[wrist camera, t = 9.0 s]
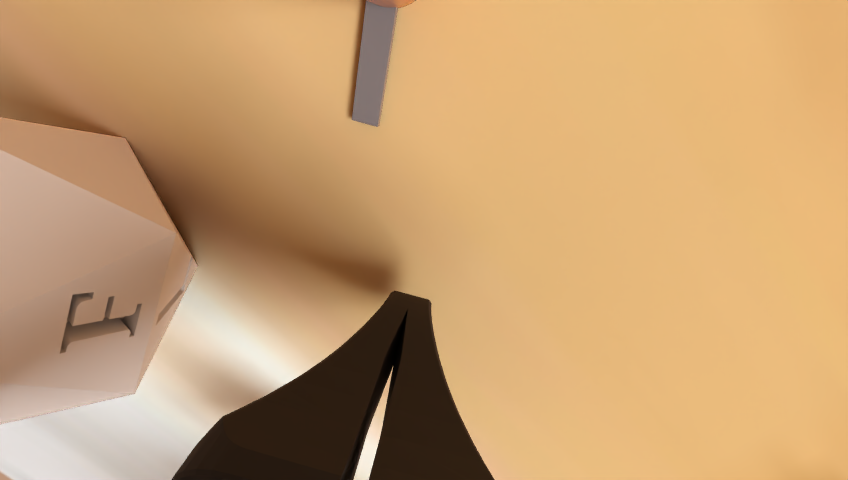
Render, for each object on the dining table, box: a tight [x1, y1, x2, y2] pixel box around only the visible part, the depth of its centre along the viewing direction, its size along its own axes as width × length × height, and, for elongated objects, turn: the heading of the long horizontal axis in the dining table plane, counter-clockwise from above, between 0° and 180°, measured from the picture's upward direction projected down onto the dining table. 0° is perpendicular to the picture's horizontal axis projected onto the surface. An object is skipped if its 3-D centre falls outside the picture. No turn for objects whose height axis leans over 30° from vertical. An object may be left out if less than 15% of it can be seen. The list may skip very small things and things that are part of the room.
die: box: [0, 117, 198, 424], centre depth 10 cm, size 8×9×10 cm
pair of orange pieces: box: [352, 0, 416, 127], centre depth 10 cm, size 23×3×8 cm, turn 167°
